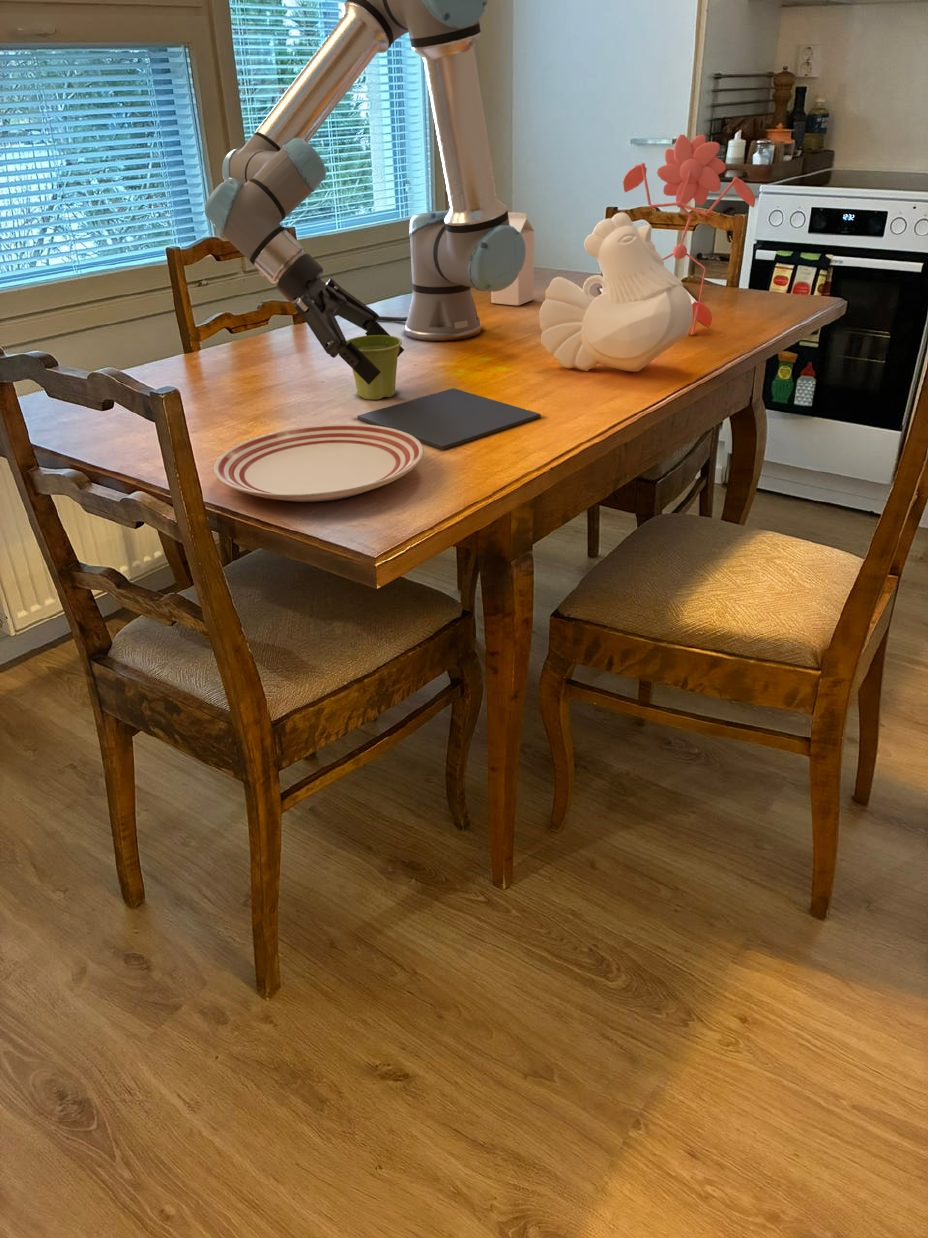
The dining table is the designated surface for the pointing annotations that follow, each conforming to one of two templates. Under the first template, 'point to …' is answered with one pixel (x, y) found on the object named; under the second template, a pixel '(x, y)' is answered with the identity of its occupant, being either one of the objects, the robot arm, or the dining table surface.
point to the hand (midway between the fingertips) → (387, 366)
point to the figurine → (690, 191)
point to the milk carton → (524, 282)
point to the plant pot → (378, 364)
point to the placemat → (449, 417)
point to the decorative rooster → (616, 304)
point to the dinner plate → (319, 462)
